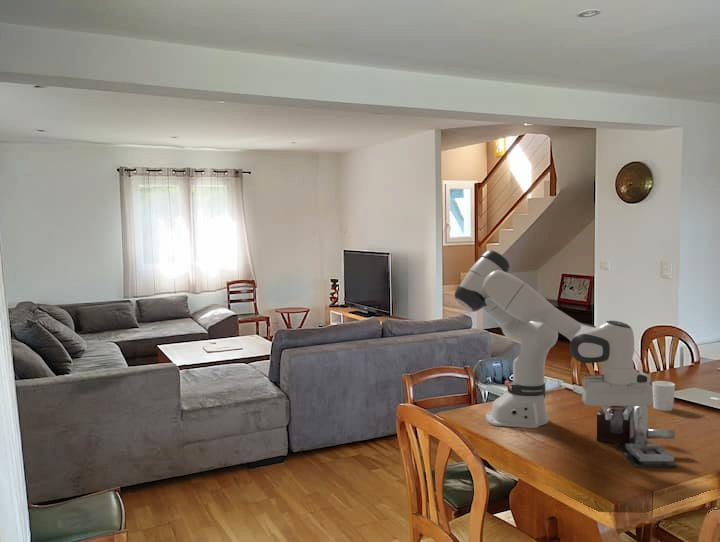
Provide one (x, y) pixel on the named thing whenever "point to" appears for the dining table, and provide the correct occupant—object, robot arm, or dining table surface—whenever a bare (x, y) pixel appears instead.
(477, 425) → the dining table surface
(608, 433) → the dark brown coffee grinder
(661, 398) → the white cup
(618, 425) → the pin
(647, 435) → the pipe elbow on plate
